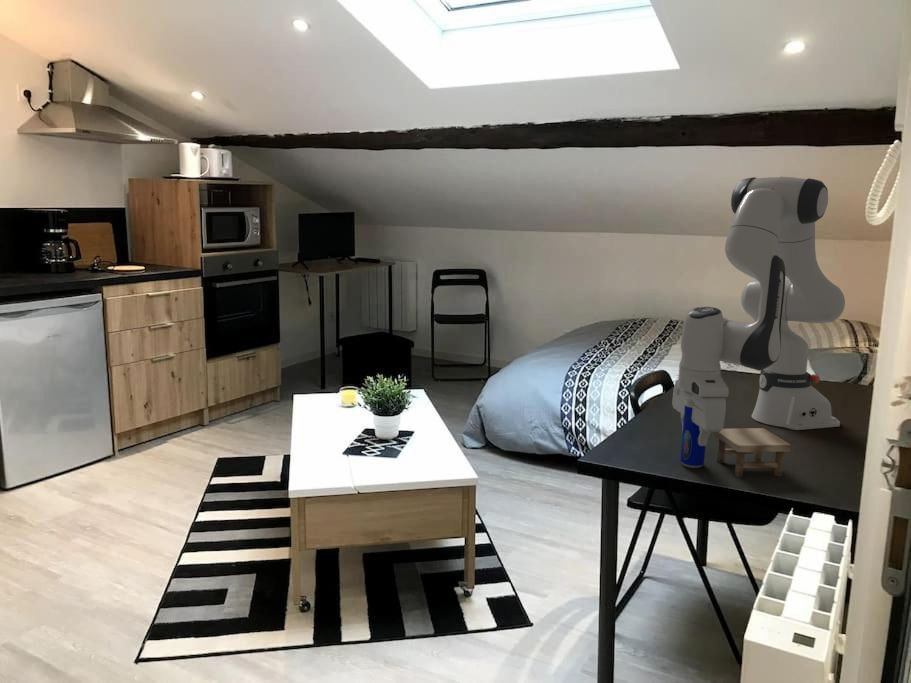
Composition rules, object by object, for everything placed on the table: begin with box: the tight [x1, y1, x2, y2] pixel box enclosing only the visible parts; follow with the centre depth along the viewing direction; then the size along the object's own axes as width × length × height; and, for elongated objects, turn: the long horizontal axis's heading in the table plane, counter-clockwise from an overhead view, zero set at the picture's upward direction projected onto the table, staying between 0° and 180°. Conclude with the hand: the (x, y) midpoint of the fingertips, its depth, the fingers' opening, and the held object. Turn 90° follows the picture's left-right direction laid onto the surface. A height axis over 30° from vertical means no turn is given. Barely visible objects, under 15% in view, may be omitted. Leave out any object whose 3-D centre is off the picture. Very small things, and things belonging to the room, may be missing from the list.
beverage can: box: [679, 400, 706, 469], centre depth 168 cm, size 5×5×15 cm
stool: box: [713, 427, 792, 478], centre depth 167 cm, size 12×12×8 cm
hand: (694, 439), depth 168 cm, fingers open, 7 cm apart
